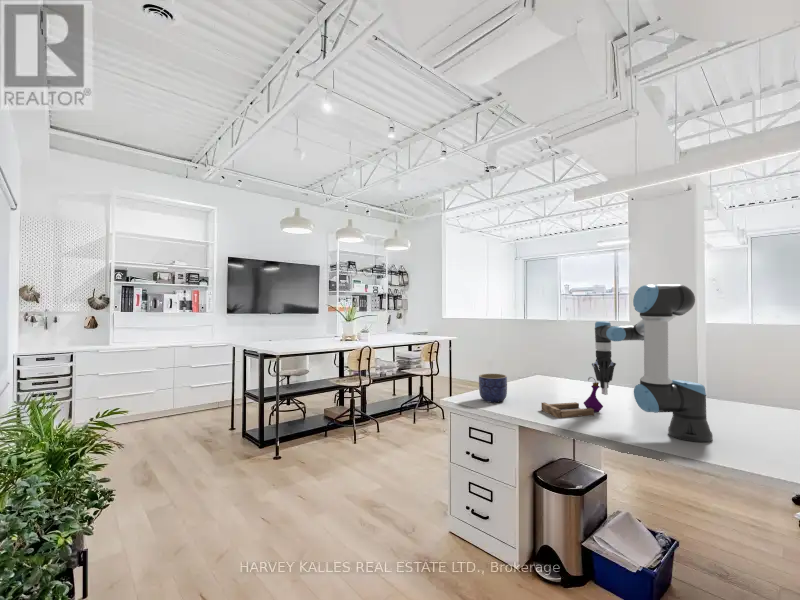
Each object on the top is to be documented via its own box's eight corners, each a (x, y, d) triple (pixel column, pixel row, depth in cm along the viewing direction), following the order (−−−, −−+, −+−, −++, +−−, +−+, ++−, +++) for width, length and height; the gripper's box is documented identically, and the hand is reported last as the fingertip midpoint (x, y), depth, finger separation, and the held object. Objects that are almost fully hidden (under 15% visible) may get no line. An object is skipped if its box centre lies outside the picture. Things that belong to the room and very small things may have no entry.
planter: (490, 396, 246) (490, 372, 247) (513, 400, 234) (512, 375, 234) (473, 400, 236) (473, 375, 236) (496, 405, 223) (495, 379, 223)
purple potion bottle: (597, 409, 211) (596, 375, 212) (603, 412, 204) (602, 378, 204) (583, 408, 212) (582, 375, 213) (588, 412, 205) (587, 378, 205)
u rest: (593, 415, 200) (593, 407, 200) (557, 417, 197) (556, 409, 197) (576, 407, 215) (575, 400, 215) (541, 410, 211) (541, 402, 211)
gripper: (609, 349, 215) (610, 392, 214) (587, 349, 213) (589, 393, 212) (619, 350, 207) (620, 395, 207) (596, 351, 205) (598, 396, 205)
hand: (604, 394), depth 209 cm, fingers closed
